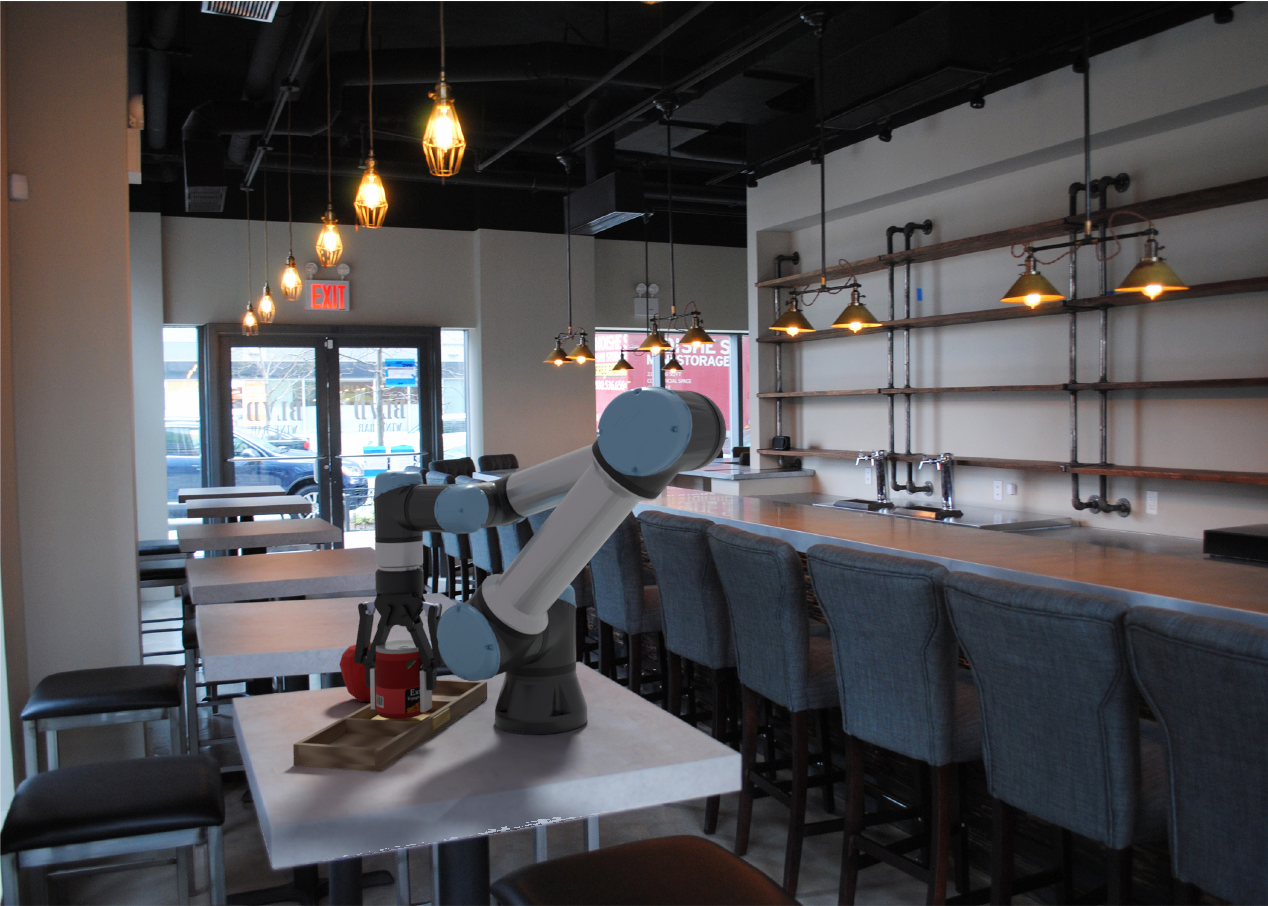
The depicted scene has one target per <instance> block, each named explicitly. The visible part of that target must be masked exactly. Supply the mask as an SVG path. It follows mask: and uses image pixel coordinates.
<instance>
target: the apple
mask: <svg viewBox="0 0 1268 906" xmlns="http://www.w3.org/2000/svg"><path fill="white" fill-rule="evenodd" d="M371 644H372V642H370V647H371ZM370 647H369V649H370ZM355 648H356V644H353V645H351V646H348V647H347V648H346V649H345V650H344V651H343V653H342V654H341V658H340V661H339V667H340V672H341V675H342V680H343V682H344V685H345V688H346V690H347V692H348V694H350V695H351V696H352V698H355V699H356V700H357V701H359V702H364V703H365V702H368V703H369V702H370V703H371V696H370V687H367V686H366V669H365V666H364V665H362V664H360V663H358V664H357V663H355V662H354V655H355Z"/></svg>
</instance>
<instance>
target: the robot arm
mask: <svg viewBox="0 0 1268 906" xmlns="http://www.w3.org/2000/svg"><path fill="white" fill-rule="evenodd" d="M726 425H727V424H726V419H725V417H724V414H723V413H722V411H721V409H720V408H719V406H718V405H717V404H716V403H715V401H714V400H712V399H711V398H709V397H708V396H706V394H705V395H704V394H702V393H700V392H698V391H694V390H680V389H670V388H669V389H668V388H666V387H661V386H655V385H652V386H651V385H650V386H648V385H647V386H641V387H636V388H632V389H628V390H625V391H623V392H622V393H620V394H619V395H617V396H615V397H614V398H613V399H612V400H611V401H610V402H609V403H608V404H607V406H606V407H605V408H604V410H603V412H602V413H601V415H600V418H599V421H598V426H597V429H598V435H597V437H596V438H597V439H596V440H595V441H594V442H593V443H592V444H589V445H585V446H583V447H581V448H577V449H575V450H572V451H570V452H568V453H563V454H562V455H559V456H557V457H554V458H552V459H548V460H546V461H543V462H540V463H538V464H535V465H532V466H529V467H528V468H525V469H522V470H520V471H517V472H513V473H511V474H508V475H506V476H502V477H501V478H498V479H495V480H490V481H483V482H482V481H481V482H480V481H479V482H470V483H469V482H468V483H451V484H444V483H443V484H442V483H441V484H424V482H423V476H422V474H421V473H420V472H419V471H385V472H384V471H383V472H379V473H378V474H377V475H375V478H374V488H373V489H374V491H373V498H372V499H373V507H374V509H373V510H374V531H375V532H374V541H375V542H374V565H375V567H377V568H378V569H376V571H375V572H374V573H375V575H374V578H375V593H376V597H375V599H374V601H370V600H366V601H364V602H361V603H359V604H358V605H357V610H358V615H359V621H358V629H357V635H356V643H355V645H356V648H355V655H354V662H355V663H357V664H358V663H360V664H362V665H364V666H365V669H366V686H367V687H370V696H371V702H370V703H371V709H377V706H376V646H380V645H383V644H385V643H386V642H388V641H387V640H388V637H389V635H390V633H391V630H392V629H393V627H394V626H400V627H405V628H406V631H407V632H408V633H409V634H410V636H411V639H412V640H413V641H414V644H415V646H416V647H418V650H419V656H420V659H421V661H422V663H423V666H424V668H425V669H423V670H421V671H420V712H426V711H428V710H429V709H431V708H432V690H433V689H435V688H436V686H437V679H438V677H437V674H438V673H437V669H438V668H441V667H442V666H444V665H445V666H446V667H447V668H448V670H449V671H450V672H451V673H452V674H453V675H455V676H456V677H457V678H460V679H461V680H463V681H484V680H485V681H486V680H490V679H492V678H494V677H496V676H498V675H501V674H504V678H503V680H502V681H503V682H502V684H501V685H502V686H501V689H500V692H499V693H498V699H497V702H496V705H495V707H494V724H495V726H496V727H497V728H499V729H500V730H503V731H506V732H508V733H509V732H510V733H516V734H521V735H522V734H524V735H547V734H556V733H562V732H563V733H564V732H568V731H571V730H574V729H577V728H580V727H582V726H584V725H585V724H586V723H587V722H588V704H587V701H586V698H585V696H584V692H583V689H582V687H581V683H580V681H579V677H578V674H577V613H576V612H577V610H578V609H577V607H578V606H577V604H576V592H575V588H574V587H573V586H572V585H571V583H572V582H573V581H574V580H575V578H576V577H577V576H578V574H579V573H580V572H582V570H583V569H584V568H585V566H587V564H588V563H589V562H590V561H591V560H592V558H593V557H594V556H595V555H596V554H597V552H599V550H600V549H601V548H602V546H603V545H604V544H605V542H607V540H608V539H609V538H610V537H611V535H612V534H614V532H615V531H616V530H617V529H618V527H619V526H620V525H621V524H622V523H623V521H624V520H625V519H626V518H627V516H629V514H630V513H631V512H632V511H633V510H634V509H635V507H636V506H637V505H638V504H639V503H640V502H642V501H643V502H645V501H646V502H648V501H655V500H656V499H657V498H658V497H659V496H660V495H661V494H662V492H664V490H665V489H666V488H667V487H668V485H669V484H670V483H671V482H672V481H673V480H674V478H676V476H677V475H678V474H679V473H683V472H693V471H697V470H700V469H702V468H704V467H707V466H708V465H709V464H711V463H712V462H714V461H715V459H716V458H717V457H718V456H719V455H720V454H721V451H722V450H723V448H724V445H725V443H726V437H727V427H726ZM554 508H555V509H554ZM550 509H554V510H553V511H552V512H551V513H550V514H549V516H548V517H547V518H546V519H545V520H544V522H543V523H542V524H541V526H540V527H539V528H538V529H537V531H536V532H535V533H534V534H533V535H532V537H531V538H530V539H529V540H528V541H527V543H526V544H525V545H524V547H522V549H521V550H520V551H519V553H518V554H517V555H516V556H515V558H514V559H513V560H512V561H511V563H510V564H509V565H508V566H507V568H506V569H505V570H504V572H502V573H495V574H491V575H489V576H487V577H486V578H484V580H483V581H482V583H481V584H480V585H479V587H477V589H476V590H475V591H474V593H473V594H472V595H471V596H470V598H468V600H466V601H465V602H457V603H455V604H453V605H452V606H449V607H448V608H447V609H446V610H444V612H443V613H442V611H443V605H442V603H440V602H436V603H432V602H428V601H426V598H425V597H424V588H425V587H424V585H425V584H424V582H425V581H424V569H423V568H422V567H420V566H422V565H423V564H424V548H423V547H424V542H423V541H424V537H423V535H424V532H431V533H446V534H453V535H460V534H474V533H477V532H479V530H480V529H485V528H493V527H507V526H513V525H515V524H518V523H521V522H523V521H524V520H526V519H527V517H529V516H533V515H537V514H539V513H542V512H544V511H548V510H550ZM376 611H377V612H378V614H379V615H380V617H379V621H378V623H377V625H376V626H377V627H376V628H377V629H376V631H375V634H374V636H373V639H372V632H373V626H374V625H373V624H374V620H375V619H374V616H375V615H374V614H375V613H376ZM423 611H424V612H425V613H424V615H425V616H426V617H427V626H428V627H427V629H428V632H429V638H428V636H427V634H426V631H425V629H424V622H423V620H422V617H421V614H422V613H423ZM429 639H430V640H429ZM371 640H372V641H371ZM370 643H372V644H371V647H370ZM430 643H431V644H430ZM369 647H370V649H369Z"/></svg>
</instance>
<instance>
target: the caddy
mask: <svg viewBox="0 0 1268 906" xmlns="http://www.w3.org/2000/svg"><path fill="white" fill-rule="evenodd" d="M487 699H488V681H482V680H479V681H468V680H462V679H461V680H460V679H459V680H458V679H457V680H456V679H455V680H454V679H438V678H437V686H436V688H435V689H433V690H432V708H431V709H429V710H428V711H426V712H424V713H423V714H421V715H419V716H416V717H412V718H405V719H388V718H383V717H381V716H379V715H378V712H377V709H371V702H370V703H369V704H367V705H365V706H363V707H361V708H358V709H357V710H355V711H353V712H352V713H350V714H348V715H346V716H344V717H341V718H340V719H338V720H337V721H334V722H332V723H330V724H329V725H326V727H323V728H321V729H319V730H318V731H316V732H314V733H312V734H310V735H308V736H306V737H304V738H303V739H301V740H299V741H297V742H295V743H293V744H292V745H293V748H292V750H293V751H292V752H293V766H301V767H312V768H314V767H315V768H325V769H326V768H327V769H340V770H350V771H351V770H353V771H364V772H365V771H367V772H368V771H369V772H376V773H377V772H382V771H384V770H386V769H387V768H388V767H389V766H391V765H392V764H394V763H395V762H396V761H398V760H399V759H401V758H402V757H404V756H406V755H407V754H408V753H410V752H411V751H413V750H414V749H416V748H417V747H419V746H420V745H421V744H423V743H424V742H427V740H429V739H430V738H432V737H433V736H435V735H437V734H438V733H439V732H440V731H443V729H445V728H446V727H448V726H449V725H451V724H452V723H454V722H455V721H457V720H458V719H459V718H461V717H463V716H464V715H466V714H467V713H469V712H470V711H471V710H473V709H474V708H476V707H477V706H479V705H480V704H482V703H483V702H485V701H486V700H487Z"/></svg>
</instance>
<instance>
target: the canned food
mask: <svg viewBox="0 0 1268 906" xmlns="http://www.w3.org/2000/svg"><path fill="white" fill-rule="evenodd" d="M423 669H425V668H424V666H423V663H422V661H421V659H420V656H419V650H418V647H416V646H415V644H414V641H413V639H412V640H410V639H404V640H403V639H402V640H401V639H400V640H391V641H386V643H385V644H383V645H380V646H376V706H377V712H378V715H379V716H381V717H383V718H388V719H405V718H412V717H416V716H419V715H421V714H423V713H424V712H420V671H421V670H423Z"/></svg>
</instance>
